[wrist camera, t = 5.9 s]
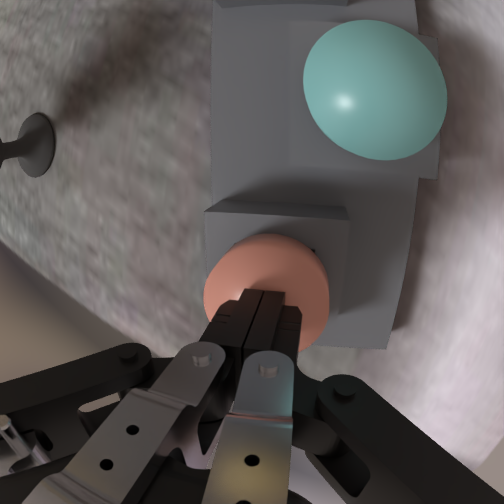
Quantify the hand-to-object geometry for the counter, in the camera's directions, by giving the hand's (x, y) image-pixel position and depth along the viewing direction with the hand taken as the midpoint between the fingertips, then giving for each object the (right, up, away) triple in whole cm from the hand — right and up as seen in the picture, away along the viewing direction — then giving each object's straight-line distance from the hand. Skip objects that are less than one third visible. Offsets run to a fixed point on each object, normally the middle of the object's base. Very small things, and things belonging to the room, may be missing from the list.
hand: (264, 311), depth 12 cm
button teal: (+4, +9, 0) cm, 10 cm away
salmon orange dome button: (+1, +2, +4) cm, 4 cm away
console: (+3, +10, +2) cm, 10 cm away
